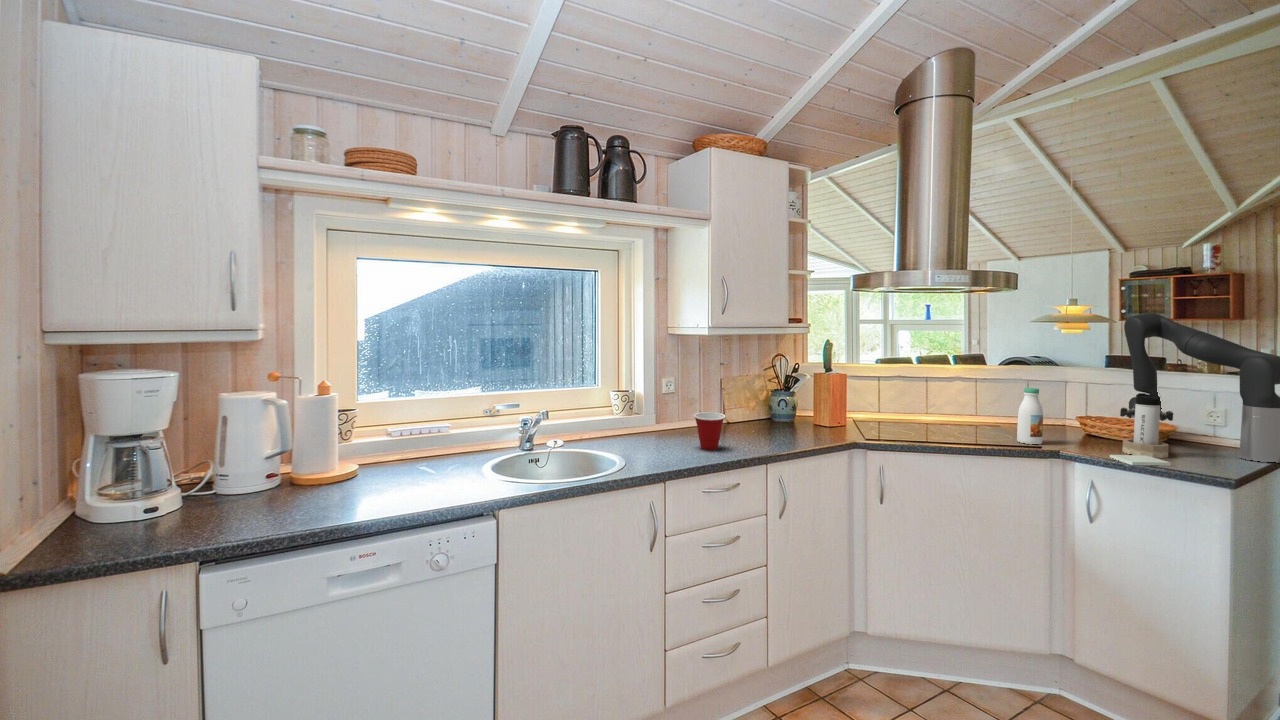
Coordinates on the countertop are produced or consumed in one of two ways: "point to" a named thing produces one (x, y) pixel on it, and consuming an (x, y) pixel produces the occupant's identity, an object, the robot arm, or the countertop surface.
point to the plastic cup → (709, 429)
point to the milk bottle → (1030, 418)
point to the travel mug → (1147, 419)
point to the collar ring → (1145, 449)
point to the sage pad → (1140, 460)
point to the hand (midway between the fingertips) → (1146, 416)
